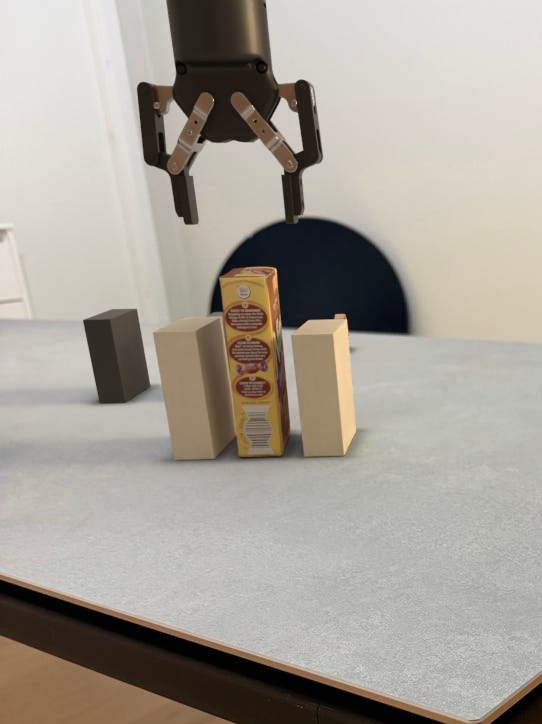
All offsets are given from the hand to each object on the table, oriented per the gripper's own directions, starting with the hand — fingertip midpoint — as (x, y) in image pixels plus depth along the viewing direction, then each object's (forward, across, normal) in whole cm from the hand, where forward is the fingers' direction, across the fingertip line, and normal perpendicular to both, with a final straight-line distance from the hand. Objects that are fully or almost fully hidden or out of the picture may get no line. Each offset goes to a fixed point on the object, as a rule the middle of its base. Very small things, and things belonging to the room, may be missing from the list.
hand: (242, 223), depth 80 cm
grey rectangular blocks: (+19, -16, +25) cm, 35 cm away
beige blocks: (+19, 0, 0) cm, 19 cm away
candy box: (+19, 0, 0) cm, 19 cm away
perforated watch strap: (+19, 0, +52) cm, 55 cm away
